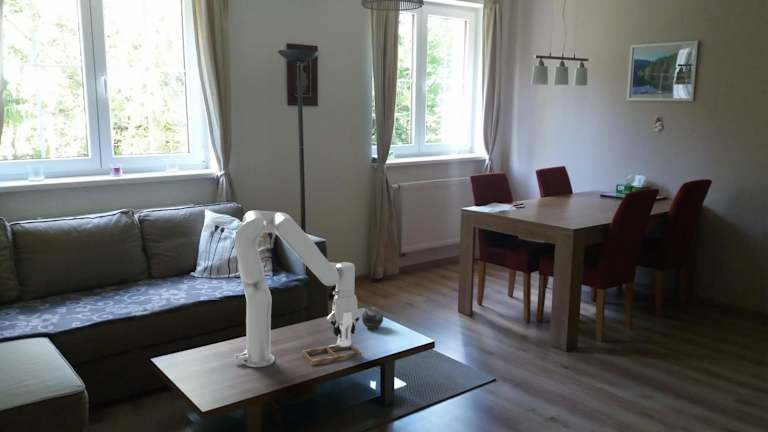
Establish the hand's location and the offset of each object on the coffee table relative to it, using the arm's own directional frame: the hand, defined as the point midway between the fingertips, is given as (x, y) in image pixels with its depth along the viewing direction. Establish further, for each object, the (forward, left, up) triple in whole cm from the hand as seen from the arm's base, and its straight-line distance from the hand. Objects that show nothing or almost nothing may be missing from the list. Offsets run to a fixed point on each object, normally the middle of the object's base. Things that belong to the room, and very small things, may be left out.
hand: (344, 333), depth 258 cm
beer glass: (0, 0, -5) cm, 5 cm away
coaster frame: (-5, 0, -9) cm, 10 cm away
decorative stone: (+25, +23, -9) cm, 35 cm away
